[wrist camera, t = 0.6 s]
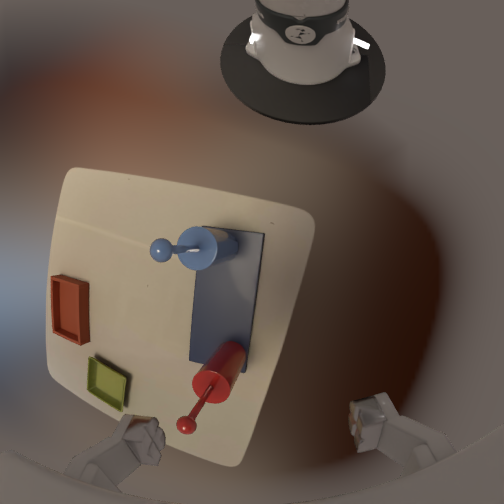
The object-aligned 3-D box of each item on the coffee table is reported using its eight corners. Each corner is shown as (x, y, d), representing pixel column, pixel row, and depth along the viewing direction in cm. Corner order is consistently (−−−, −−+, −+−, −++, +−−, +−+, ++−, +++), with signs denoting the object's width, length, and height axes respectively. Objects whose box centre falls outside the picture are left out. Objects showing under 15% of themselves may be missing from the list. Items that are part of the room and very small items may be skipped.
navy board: (203, 226, 39) (201, 225, 38) (264, 233, 38) (263, 233, 37) (191, 358, 40) (188, 360, 39) (246, 370, 39) (244, 373, 38)
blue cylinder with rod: (208, 228, 38) (134, 217, 20) (240, 232, 37) (186, 223, 19) (204, 261, 38) (128, 275, 20) (236, 265, 37) (180, 286, 19)
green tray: (132, 374, 42) (126, 378, 40) (127, 408, 43) (122, 413, 41) (95, 352, 43) (88, 355, 41) (92, 386, 44) (86, 390, 42)
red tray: (60, 274, 44) (50, 276, 41) (89, 282, 43) (78, 284, 40) (61, 329, 44) (52, 332, 42) (89, 341, 43) (80, 345, 40)
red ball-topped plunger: (217, 338, 38) (159, 404, 20) (248, 344, 37) (208, 419, 19) (214, 365, 38) (160, 439, 20) (244, 371, 38) (206, 453, 19)
